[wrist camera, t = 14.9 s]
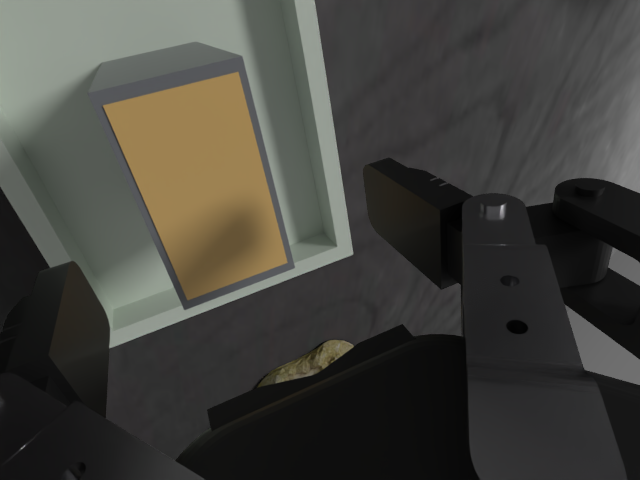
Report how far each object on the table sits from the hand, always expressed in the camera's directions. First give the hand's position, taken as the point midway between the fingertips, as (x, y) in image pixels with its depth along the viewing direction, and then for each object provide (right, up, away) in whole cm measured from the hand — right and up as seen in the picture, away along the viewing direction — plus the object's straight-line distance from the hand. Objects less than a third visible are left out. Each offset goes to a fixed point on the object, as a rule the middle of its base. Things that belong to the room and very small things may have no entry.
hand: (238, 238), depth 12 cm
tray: (-6, +6, +11) cm, 14 cm away
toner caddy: (-5, +6, +11) cm, 13 cm away
